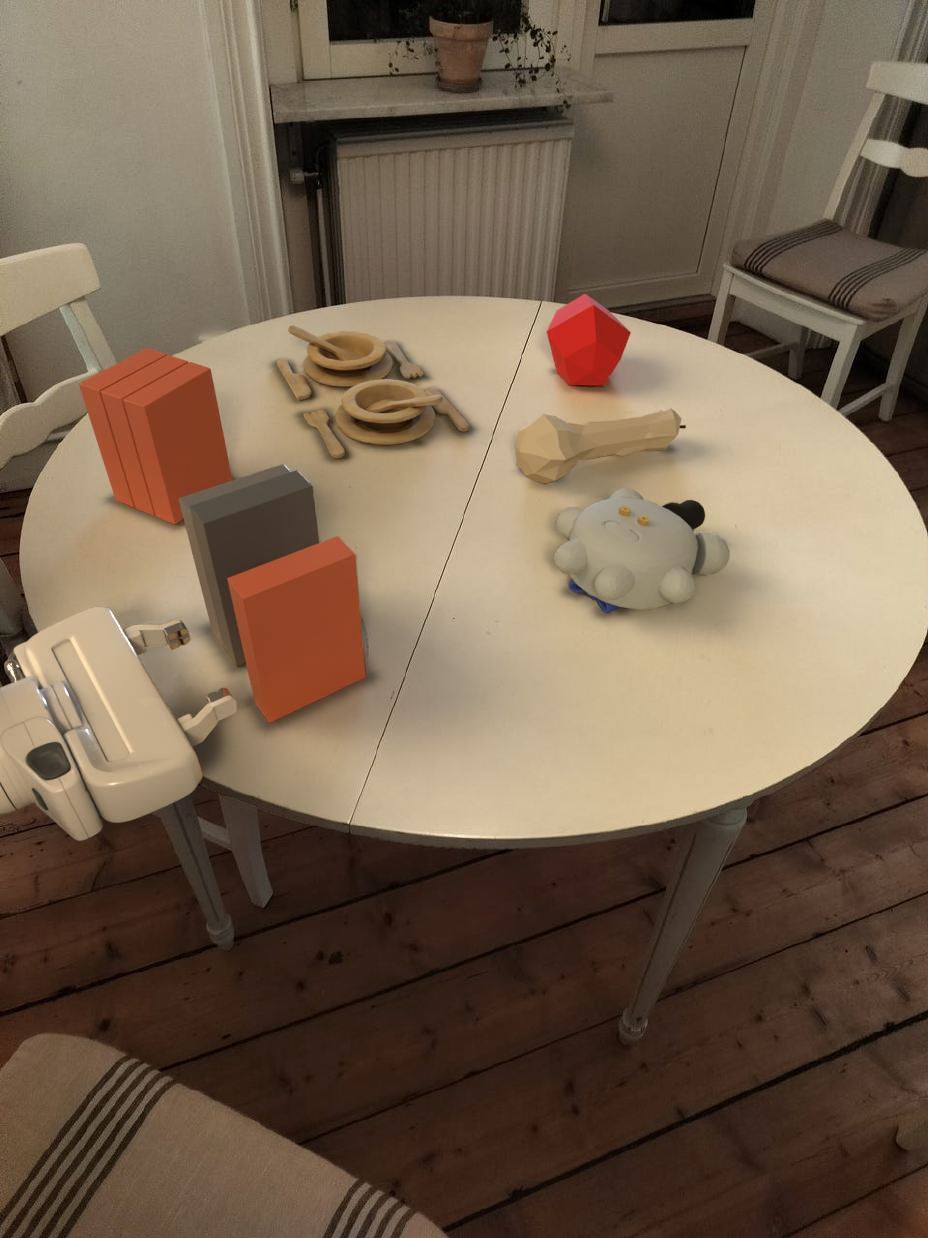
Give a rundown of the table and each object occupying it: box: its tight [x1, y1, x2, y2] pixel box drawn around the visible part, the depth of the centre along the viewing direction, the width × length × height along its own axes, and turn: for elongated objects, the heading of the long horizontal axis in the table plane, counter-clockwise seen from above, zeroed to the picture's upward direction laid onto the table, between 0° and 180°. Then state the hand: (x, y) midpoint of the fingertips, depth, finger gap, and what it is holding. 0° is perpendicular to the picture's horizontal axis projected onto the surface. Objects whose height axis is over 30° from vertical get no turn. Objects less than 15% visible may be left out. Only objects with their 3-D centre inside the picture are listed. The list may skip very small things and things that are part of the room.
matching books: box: [78, 347, 234, 525], centre depth 95 cm, size 10×9×15 cm
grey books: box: [179, 463, 320, 667], centre depth 77 cm, size 10×6×17 cm, turn 125°
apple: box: [546, 293, 632, 387], centre depth 121 cm, size 12×12×15 cm
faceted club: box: [514, 408, 687, 485], centre depth 104 cm, size 9×8×25 cm
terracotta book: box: [227, 535, 367, 724], centre depth 72 cm, size 10×3×15 cm, turn 125°
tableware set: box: [276, 325, 470, 459], centre depth 116 cm, size 30×20×6 cm, turn 24°
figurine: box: [553, 487, 731, 614], centre depth 89 cm, size 17×8×20 cm
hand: (208, 662), depth 68 cm, fingers open, 8 cm apart
